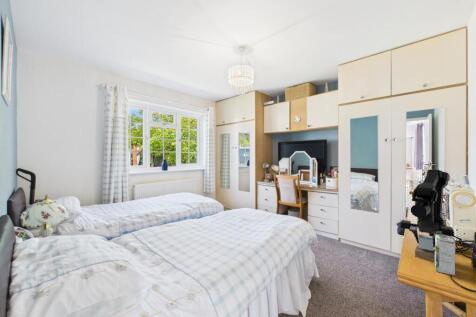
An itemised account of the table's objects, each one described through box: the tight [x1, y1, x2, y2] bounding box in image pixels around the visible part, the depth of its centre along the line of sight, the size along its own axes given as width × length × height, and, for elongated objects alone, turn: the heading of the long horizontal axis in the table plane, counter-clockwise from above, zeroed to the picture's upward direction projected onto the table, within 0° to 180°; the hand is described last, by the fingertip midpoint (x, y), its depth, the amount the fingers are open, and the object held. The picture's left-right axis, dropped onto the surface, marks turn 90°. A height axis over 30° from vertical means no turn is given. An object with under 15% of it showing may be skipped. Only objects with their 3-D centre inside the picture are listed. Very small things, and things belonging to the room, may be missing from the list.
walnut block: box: [414, 244, 435, 263], centre depth 100 cm, size 7×7×4 cm
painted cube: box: [418, 233, 434, 251], centre depth 99 cm, size 5×5×5 cm
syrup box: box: [434, 234, 456, 276], centre depth 88 cm, size 6×6×14 cm
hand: (425, 245), depth 99 cm, fingers closed on painted cube, 5 cm apart
